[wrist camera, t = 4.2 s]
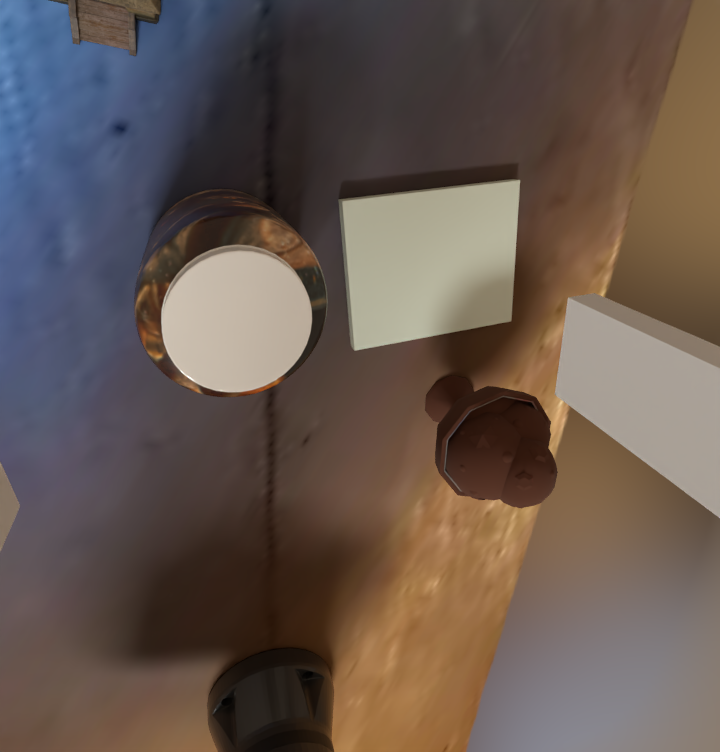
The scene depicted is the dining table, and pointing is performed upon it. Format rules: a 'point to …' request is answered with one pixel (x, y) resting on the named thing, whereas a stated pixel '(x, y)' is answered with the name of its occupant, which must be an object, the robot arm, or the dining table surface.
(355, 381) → the dining table surface
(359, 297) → the board
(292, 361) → the jar
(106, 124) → the dining table surface
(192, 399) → the dining table surface
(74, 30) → the miniature house
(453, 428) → the ice cream bowl
